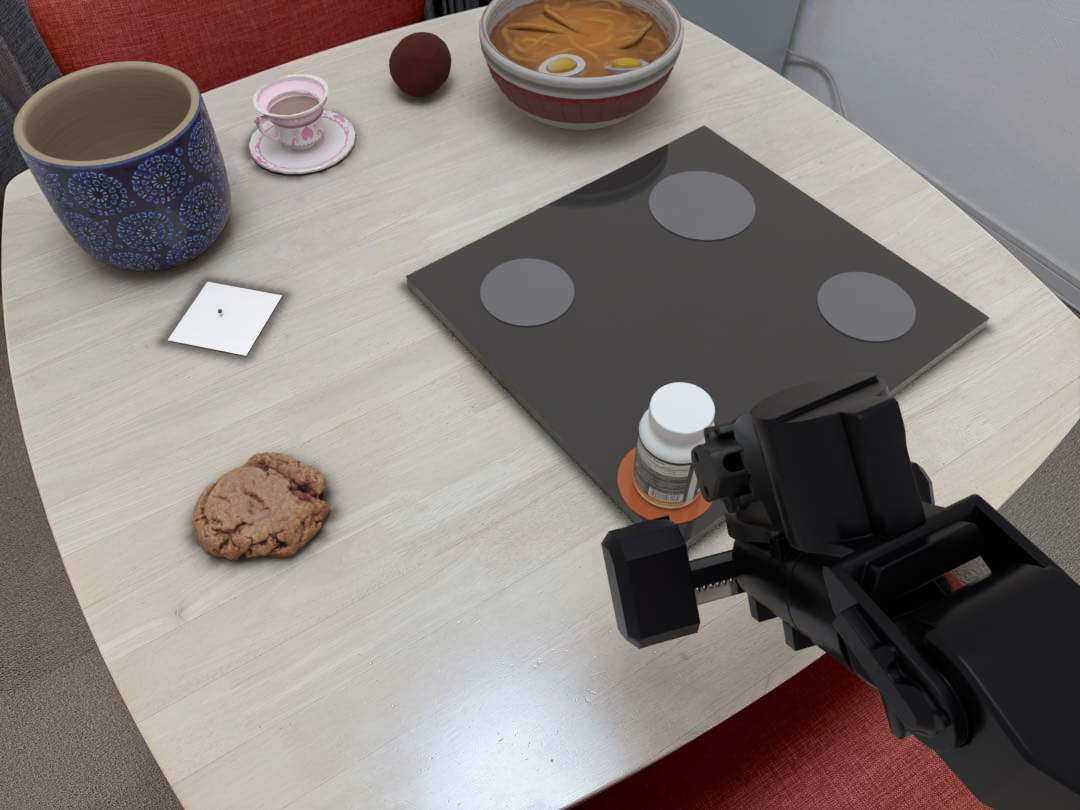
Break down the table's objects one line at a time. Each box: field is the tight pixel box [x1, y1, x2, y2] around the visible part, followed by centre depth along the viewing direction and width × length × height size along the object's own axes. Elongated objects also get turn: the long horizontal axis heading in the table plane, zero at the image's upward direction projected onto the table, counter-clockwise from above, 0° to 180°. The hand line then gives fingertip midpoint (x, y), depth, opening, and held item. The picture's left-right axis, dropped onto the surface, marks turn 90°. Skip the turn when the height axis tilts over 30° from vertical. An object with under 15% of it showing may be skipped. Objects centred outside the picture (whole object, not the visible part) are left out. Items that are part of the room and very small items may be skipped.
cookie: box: [191, 451, 331, 561], centre depth 70 cm, size 10×11×3 cm
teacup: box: [248, 73, 357, 175], centre depth 99 cm, size 12×12×6 cm
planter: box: [12, 60, 232, 272], centre depth 86 cm, size 17×17×15 cm
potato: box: [388, 31, 452, 99], centre depth 106 cm, size 7×8×7 cm
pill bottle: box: [633, 382, 715, 508], centre depth 67 cm, size 6×6×10 cm
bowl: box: [478, 0, 685, 131], centre depth 102 cm, size 23×23×10 cm
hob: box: [405, 125, 991, 549], centre depth 85 cm, size 38×40×2 cm
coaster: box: [167, 281, 283, 357], centre depth 84 cm, size 8×8×1 cm
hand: (716, 516), depth 57 cm, fingers open, 9 cm apart
